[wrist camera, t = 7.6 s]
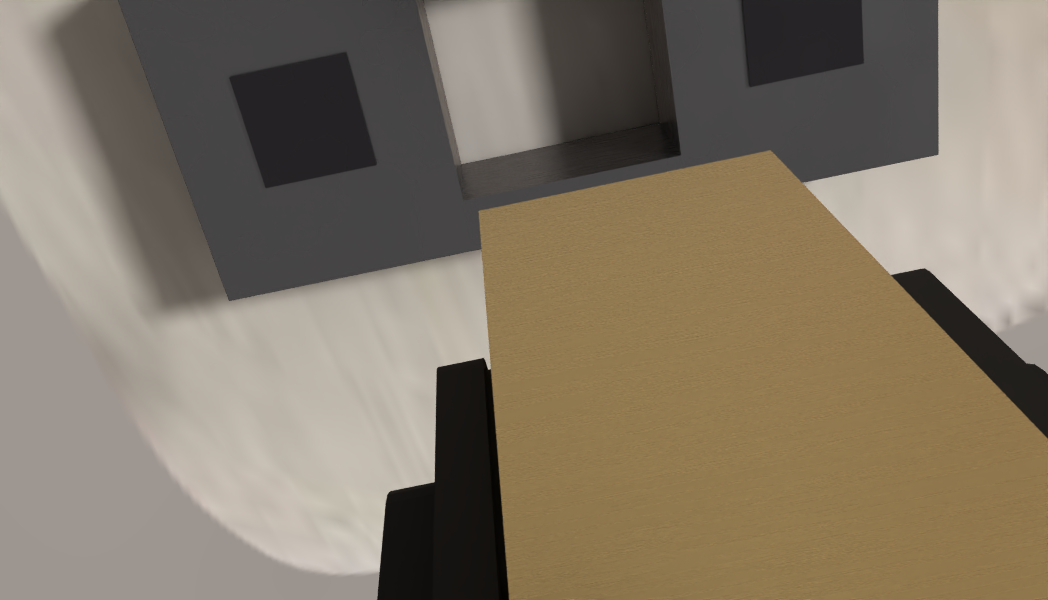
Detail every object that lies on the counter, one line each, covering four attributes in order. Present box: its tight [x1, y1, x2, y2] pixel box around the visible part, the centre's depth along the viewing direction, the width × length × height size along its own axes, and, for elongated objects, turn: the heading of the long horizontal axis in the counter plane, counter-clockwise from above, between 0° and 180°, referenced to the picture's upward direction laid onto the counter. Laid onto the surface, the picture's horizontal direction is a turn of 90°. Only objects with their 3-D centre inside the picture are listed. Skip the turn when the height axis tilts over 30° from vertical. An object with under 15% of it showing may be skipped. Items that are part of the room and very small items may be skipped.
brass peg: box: [479, 150, 1048, 600], centre depth 10 cm, size 4×4×10 cm
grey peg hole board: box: [118, 0, 938, 301], centre depth 27 cm, size 9×20×3 cm, turn 101°
